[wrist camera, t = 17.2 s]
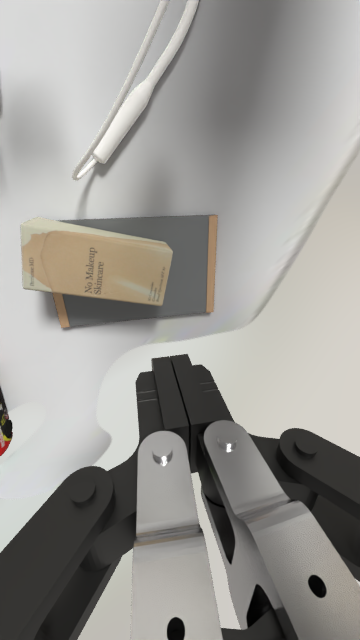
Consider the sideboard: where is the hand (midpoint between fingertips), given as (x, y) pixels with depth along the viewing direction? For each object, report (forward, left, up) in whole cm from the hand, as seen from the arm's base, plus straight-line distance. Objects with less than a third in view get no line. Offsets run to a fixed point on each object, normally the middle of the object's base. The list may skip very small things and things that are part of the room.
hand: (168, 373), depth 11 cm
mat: (0, -1, -17) cm, 17 cm away
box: (0, +2, -14) cm, 14 cm away
